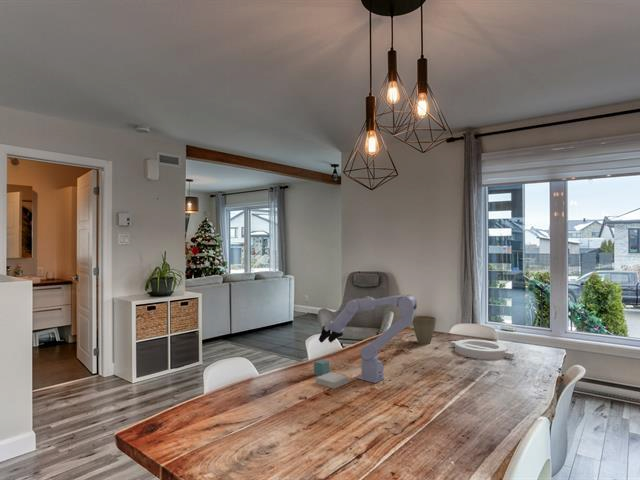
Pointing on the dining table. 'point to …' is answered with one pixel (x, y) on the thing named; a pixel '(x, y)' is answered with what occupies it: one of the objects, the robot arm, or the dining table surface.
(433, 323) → the plant pot
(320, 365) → the teal block
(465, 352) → the white circle with bar
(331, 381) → the plinth
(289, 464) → the dining table surface
